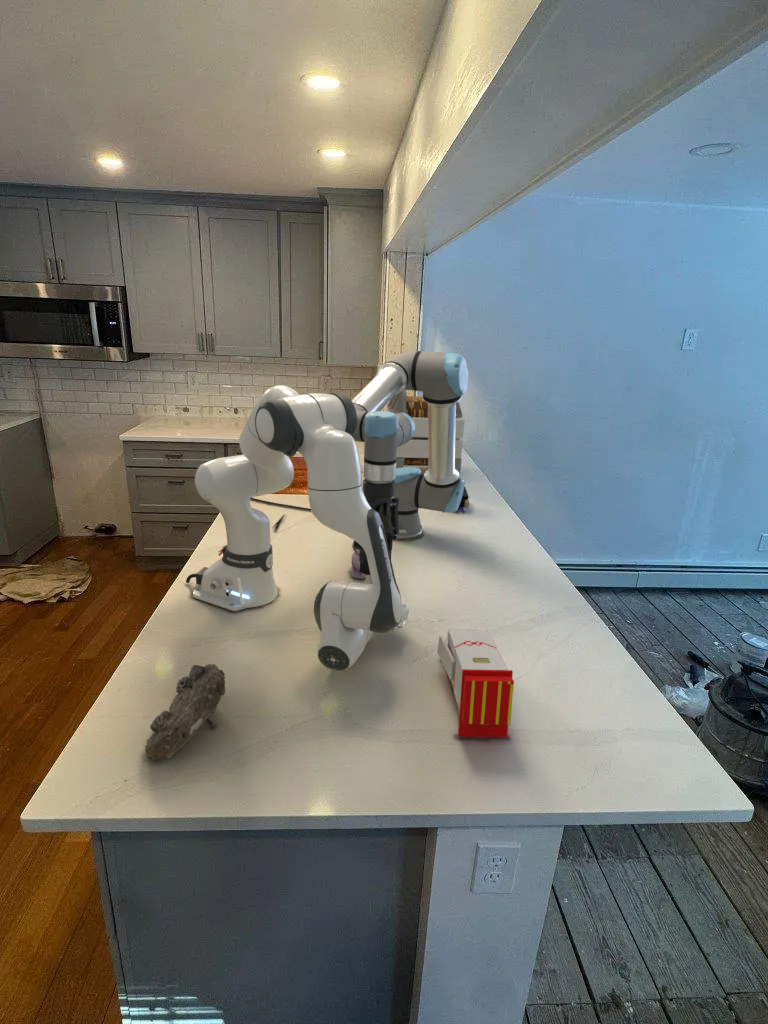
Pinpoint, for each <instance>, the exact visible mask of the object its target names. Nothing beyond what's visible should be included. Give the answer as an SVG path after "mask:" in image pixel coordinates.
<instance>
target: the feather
mask: <svg viewBox="0 0 768 1024" xmlns="http://www.w3.org/2000/svg"><path fill="white" fill-rule="evenodd" d="M285 515H286V514H283V515H282V516H281V518H279V519H278V521H277V522H276V523H275V524H274V525H273V526H272V527H270V530H271V529H273V528H275V530H274V531H275V532H276V531H277V530H278V528H279V526H280V524H281V522H282V520H283V519H284V516H285Z"/></svg>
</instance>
